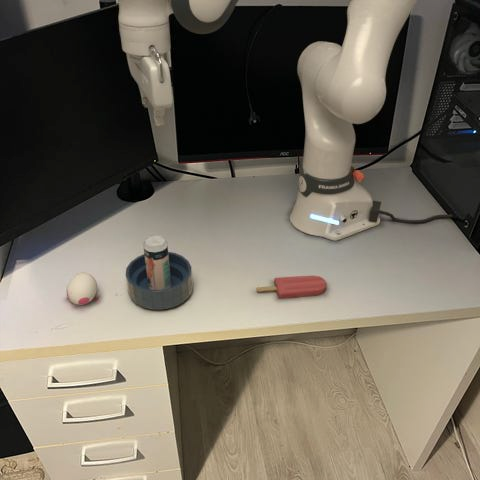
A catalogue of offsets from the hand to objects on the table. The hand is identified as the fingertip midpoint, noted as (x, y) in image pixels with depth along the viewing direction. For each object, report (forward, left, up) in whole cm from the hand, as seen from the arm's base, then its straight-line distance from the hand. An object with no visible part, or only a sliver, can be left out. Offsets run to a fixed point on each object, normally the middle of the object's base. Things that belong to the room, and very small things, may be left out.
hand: (153, 115), depth 103 cm
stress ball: (+22, +16, -29) cm, 40 cm away
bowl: (+6, +19, -29) cm, 35 cm away
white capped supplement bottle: (+6, +19, -28) cm, 35 cm away
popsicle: (-20, +28, -29) cm, 45 cm away
